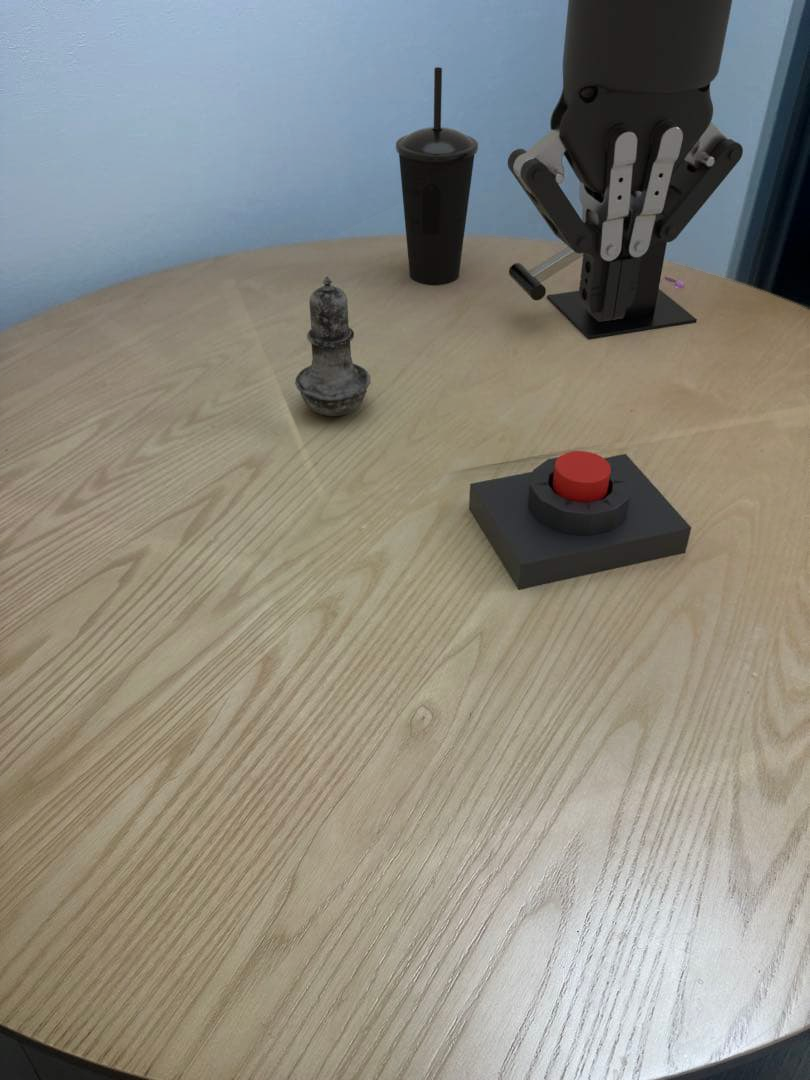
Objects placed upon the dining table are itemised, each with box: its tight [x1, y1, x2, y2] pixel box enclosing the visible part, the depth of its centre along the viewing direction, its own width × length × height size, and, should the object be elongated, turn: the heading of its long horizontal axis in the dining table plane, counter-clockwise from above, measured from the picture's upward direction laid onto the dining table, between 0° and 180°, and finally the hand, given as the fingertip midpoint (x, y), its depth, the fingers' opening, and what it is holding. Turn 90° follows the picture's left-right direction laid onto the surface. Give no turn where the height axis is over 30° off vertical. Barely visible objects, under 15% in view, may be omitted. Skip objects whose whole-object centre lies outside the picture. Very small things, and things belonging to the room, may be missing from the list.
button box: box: [468, 453, 692, 591], centre depth 63 cm, size 12×9×4 cm
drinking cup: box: [395, 66, 479, 286], centre depth 89 cm, size 8×8×20 cm
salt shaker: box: [294, 275, 371, 417], centre depth 72 cm, size 6×6×12 cm
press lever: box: [508, 246, 583, 302], centre depth 83 cm, size 13×5×2 cm, turn 107°
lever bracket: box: [546, 240, 698, 341], centre depth 86 cm, size 11×9×12 cm
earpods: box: [664, 276, 685, 289], centre depth 94 cm, size 3×2×2 cm
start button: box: [553, 450, 611, 503], centre depth 62 cm, size 4×4×2 cm
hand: (604, 314), depth 54 cm, fingers closed
